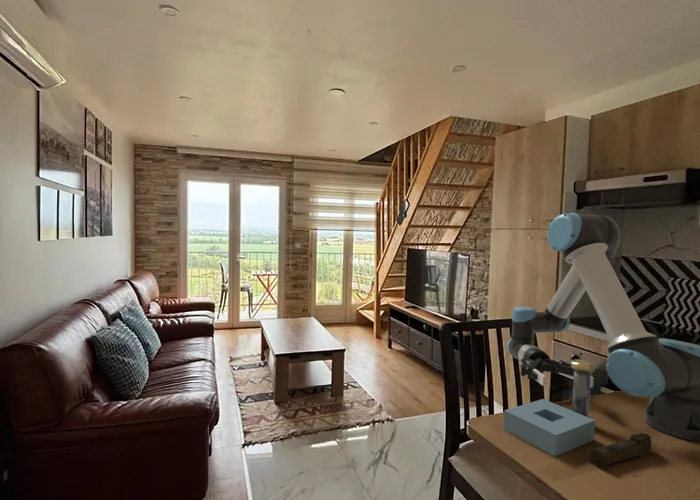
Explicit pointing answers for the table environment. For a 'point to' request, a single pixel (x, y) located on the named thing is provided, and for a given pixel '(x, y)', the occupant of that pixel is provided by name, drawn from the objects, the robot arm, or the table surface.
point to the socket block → (549, 426)
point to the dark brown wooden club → (620, 450)
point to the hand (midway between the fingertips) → (568, 382)
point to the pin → (581, 386)
